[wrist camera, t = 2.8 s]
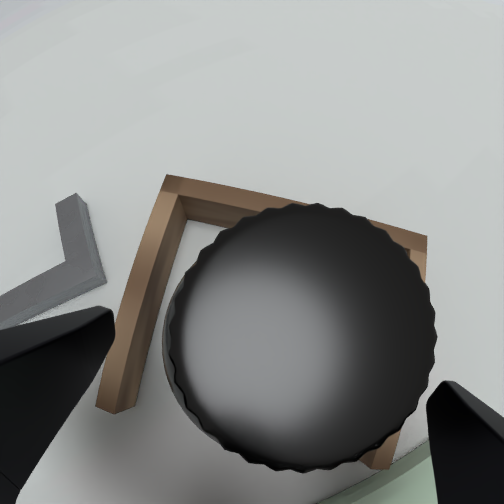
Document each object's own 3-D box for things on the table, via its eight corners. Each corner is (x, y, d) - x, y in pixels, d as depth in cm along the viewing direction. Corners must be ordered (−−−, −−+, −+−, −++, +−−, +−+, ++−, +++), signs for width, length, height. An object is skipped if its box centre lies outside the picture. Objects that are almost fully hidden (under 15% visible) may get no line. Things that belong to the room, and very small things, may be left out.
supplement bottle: (174, 335, 16) (44, 285, 5) (275, 259, 18) (322, 100, 6) (254, 436, 15) (275, 574, 3) (354, 355, 16) (522, 336, 5)
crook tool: (-23, 345, 15) (-38, 342, 14) (-33, 273, 17) (-46, 267, 16) (107, 282, 17) (95, 276, 16) (86, 204, 19) (76, 192, 17)
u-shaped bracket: (367, 454, 14) (389, 469, 12) (118, 399, 15) (95, 406, 12) (403, 253, 18) (427, 236, 15) (176, 200, 19) (166, 174, 16)
